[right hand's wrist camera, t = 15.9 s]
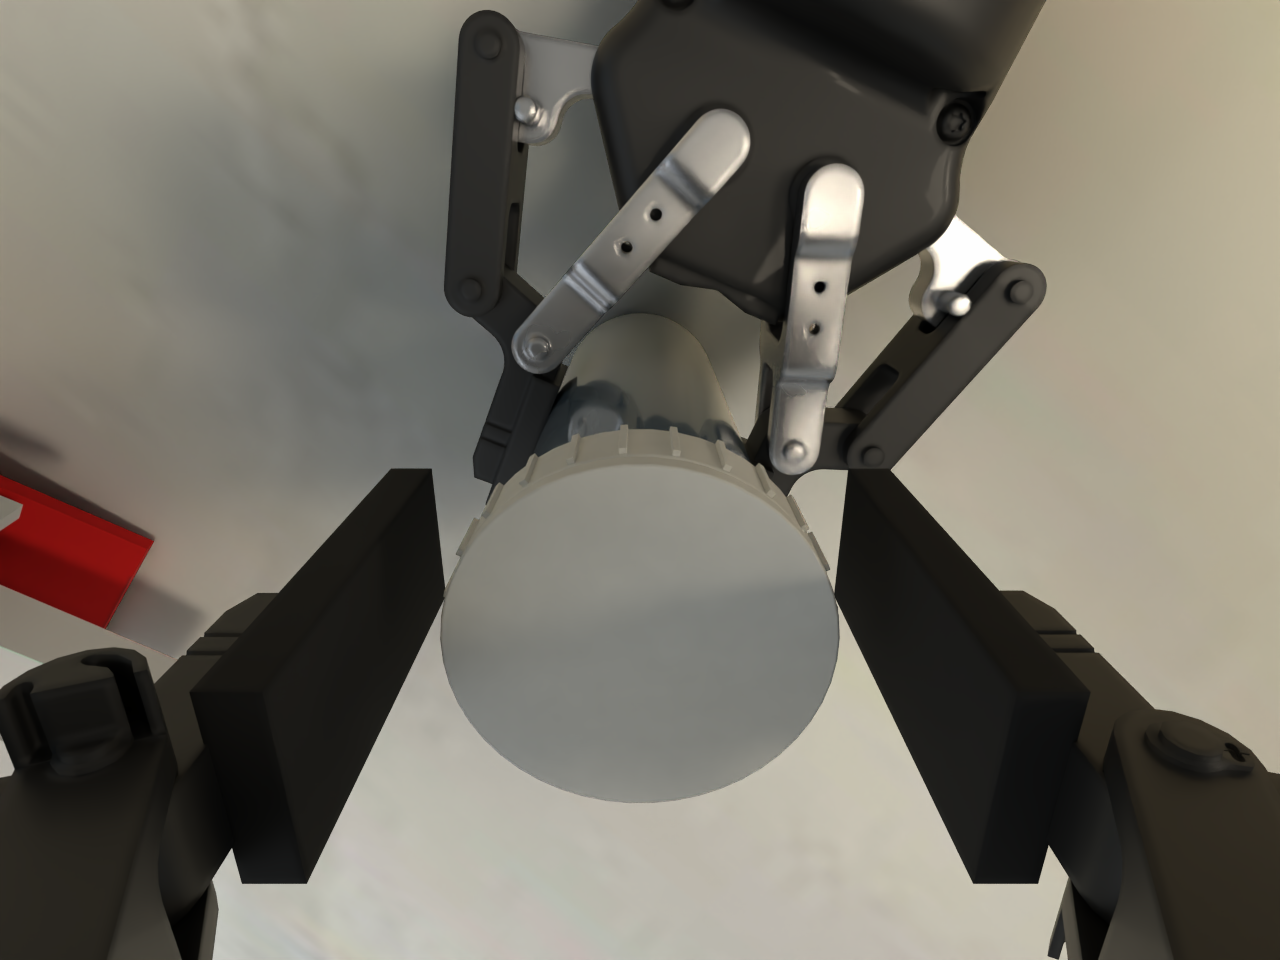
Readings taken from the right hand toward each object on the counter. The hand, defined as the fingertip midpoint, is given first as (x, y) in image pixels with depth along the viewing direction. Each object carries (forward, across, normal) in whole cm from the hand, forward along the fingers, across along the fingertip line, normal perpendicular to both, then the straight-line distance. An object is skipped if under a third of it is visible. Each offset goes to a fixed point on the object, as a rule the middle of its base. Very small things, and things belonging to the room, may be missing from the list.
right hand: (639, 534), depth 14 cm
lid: (-3, 0, 0) cm, 3 cm away
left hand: (+5, -1, -2) cm, 6 cm away
